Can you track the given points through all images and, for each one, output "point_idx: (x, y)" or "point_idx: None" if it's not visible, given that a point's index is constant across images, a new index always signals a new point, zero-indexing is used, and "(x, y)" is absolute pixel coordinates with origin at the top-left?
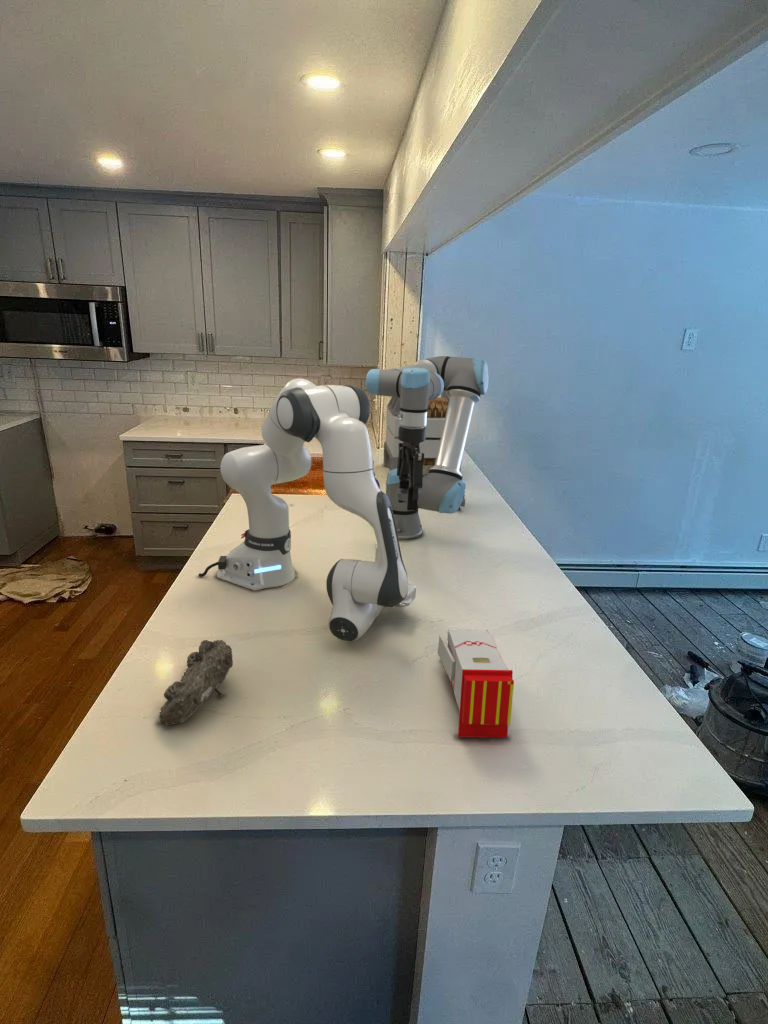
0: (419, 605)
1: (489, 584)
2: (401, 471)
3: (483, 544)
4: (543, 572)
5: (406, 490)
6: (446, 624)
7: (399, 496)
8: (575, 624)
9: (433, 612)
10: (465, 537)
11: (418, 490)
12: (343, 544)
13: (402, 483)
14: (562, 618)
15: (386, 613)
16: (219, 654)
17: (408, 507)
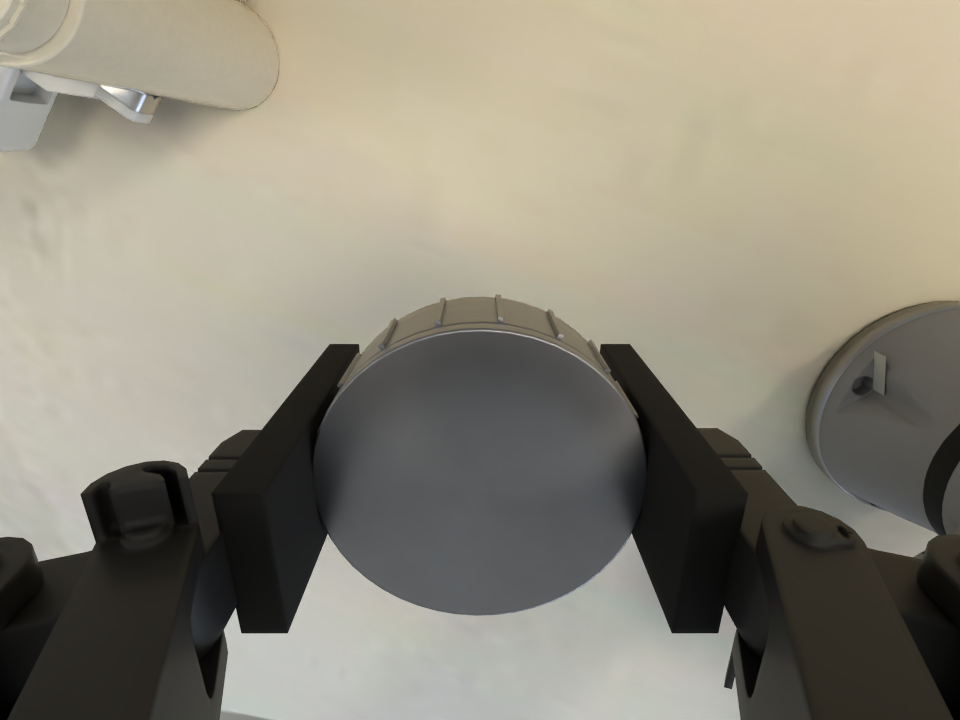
0: (168, 209)
1: None
2: (819, 690)
3: (641, 652)
4: (371, 712)
5: (510, 472)
6: (11, 256)
7: (425, 318)
8: None
9: (106, 244)
10: (729, 624)
11: (475, 613)
12: (925, 43)
13: (674, 501)
14: None
15: None
16: None
17: (322, 360)
